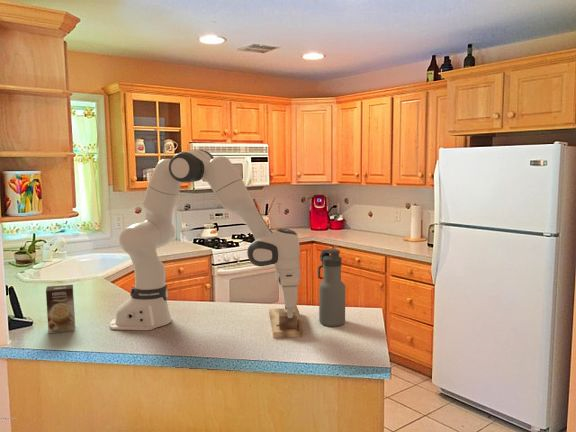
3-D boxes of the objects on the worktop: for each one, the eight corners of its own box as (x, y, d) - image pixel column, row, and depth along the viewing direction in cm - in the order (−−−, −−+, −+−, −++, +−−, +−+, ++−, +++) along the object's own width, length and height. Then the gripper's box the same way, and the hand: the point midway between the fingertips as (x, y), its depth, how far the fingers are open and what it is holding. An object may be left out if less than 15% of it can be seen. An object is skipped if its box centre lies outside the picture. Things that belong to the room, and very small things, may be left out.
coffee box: (47, 334, 179) (44, 290, 177) (49, 328, 185) (46, 286, 183) (75, 330, 182) (72, 288, 180) (76, 325, 188) (73, 283, 186)
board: (273, 337, 173) (273, 325, 172) (269, 313, 199) (268, 303, 198) (303, 336, 174) (303, 324, 173) (295, 312, 200) (295, 302, 199)
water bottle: (313, 321, 189) (313, 248, 186) (333, 316, 195) (333, 246, 191) (329, 328, 181) (329, 253, 177) (350, 323, 186) (350, 250, 183)
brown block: (276, 330, 175) (276, 316, 174) (276, 326, 179) (275, 312, 178) (296, 329, 175) (296, 315, 175) (295, 325, 179) (295, 311, 179)
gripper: (276, 268, 184) (277, 304, 186) (280, 282, 164) (282, 322, 166) (293, 267, 185) (294, 303, 187) (299, 281, 165) (300, 321, 167)
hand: (288, 313), depth 176 cm, fingers open, 8 cm apart
